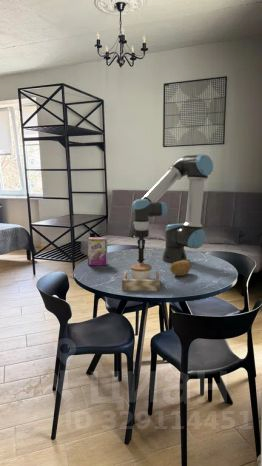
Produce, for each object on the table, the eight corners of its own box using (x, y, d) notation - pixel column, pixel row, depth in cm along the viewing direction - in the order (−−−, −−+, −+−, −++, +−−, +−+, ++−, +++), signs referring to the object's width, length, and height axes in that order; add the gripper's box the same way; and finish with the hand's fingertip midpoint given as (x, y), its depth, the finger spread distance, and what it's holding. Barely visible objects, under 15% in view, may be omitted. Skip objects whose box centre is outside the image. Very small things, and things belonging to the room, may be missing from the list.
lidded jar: (153, 284, 158) (153, 265, 156) (131, 284, 157) (131, 266, 155) (150, 277, 168) (150, 260, 166) (129, 277, 167) (129, 260, 166)
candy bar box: (87, 265, 191) (87, 238, 188) (89, 263, 195) (89, 237, 193) (106, 266, 189) (105, 239, 187) (107, 263, 194) (107, 237, 191)
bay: (158, 280, 163) (158, 271, 162) (159, 290, 148) (159, 280, 148) (124, 280, 164) (124, 270, 163) (122, 290, 149) (122, 280, 148)
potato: (195, 273, 174) (195, 259, 173) (181, 280, 164) (181, 265, 162) (180, 270, 180) (180, 256, 179) (165, 276, 170) (166, 261, 169)
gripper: (134, 227, 173) (134, 268, 177) (133, 231, 160) (133, 276, 164) (148, 227, 172) (148, 269, 176) (148, 231, 159) (147, 276, 164)
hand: (141, 272), depth 170 cm, fingers closed
